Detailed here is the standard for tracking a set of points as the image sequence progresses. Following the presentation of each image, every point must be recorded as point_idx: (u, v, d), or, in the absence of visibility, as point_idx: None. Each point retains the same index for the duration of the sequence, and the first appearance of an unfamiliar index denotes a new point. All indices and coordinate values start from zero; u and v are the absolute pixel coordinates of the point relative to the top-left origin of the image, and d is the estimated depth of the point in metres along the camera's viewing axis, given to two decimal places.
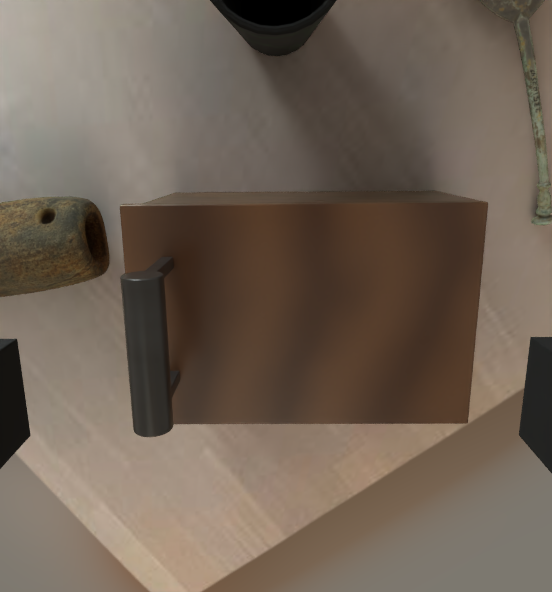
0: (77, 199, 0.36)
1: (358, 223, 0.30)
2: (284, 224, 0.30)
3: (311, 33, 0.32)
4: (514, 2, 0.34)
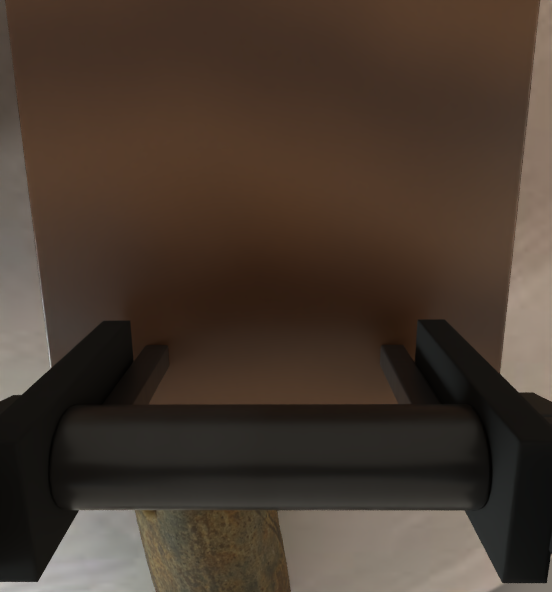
0: None
1: None
2: (61, 119, 0.14)
3: None
4: None
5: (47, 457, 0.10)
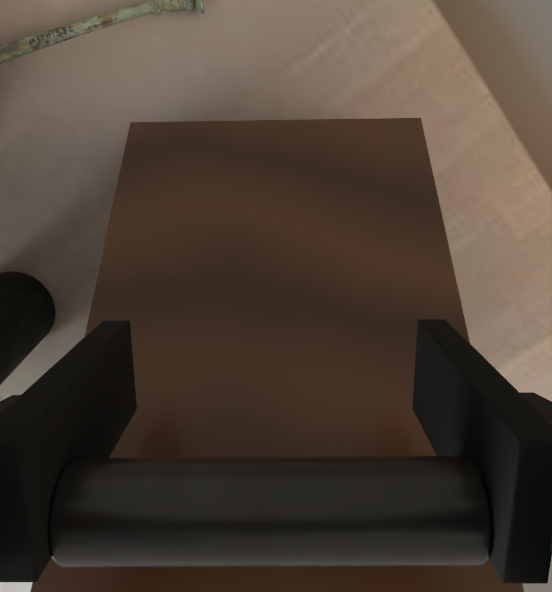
0: None
1: (131, 243, 0.21)
2: None
3: (9, 298, 0.32)
4: None
5: (46, 457, 0.10)
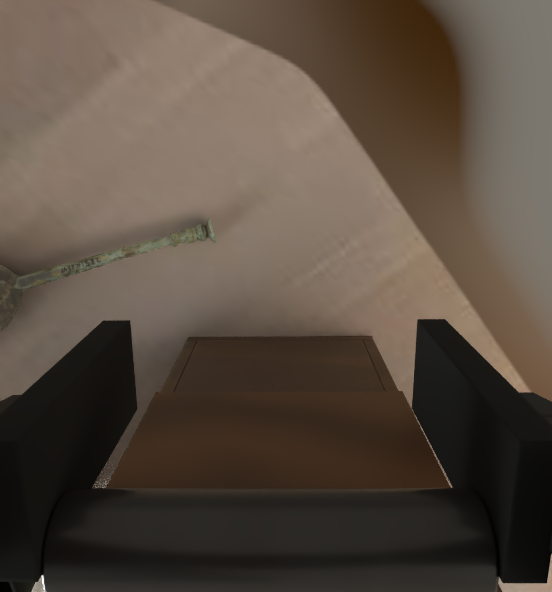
0: None
1: (142, 467, 0.22)
2: None
3: None
4: (3, 297, 0.36)
5: (47, 457, 0.10)
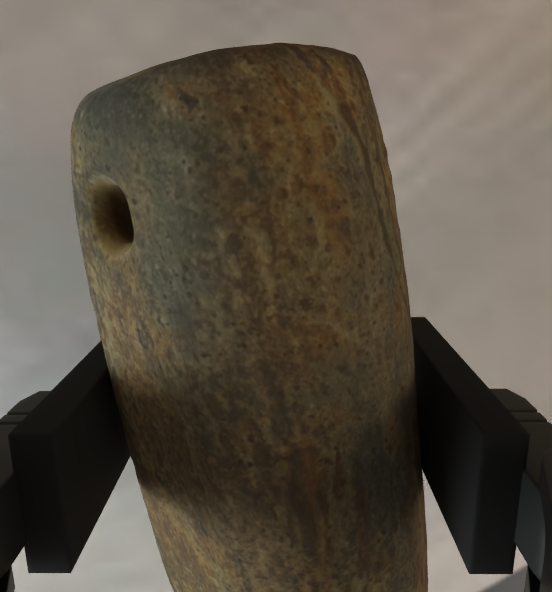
0: None
1: None
2: None
3: None
4: None
5: (78, 451, 0.10)
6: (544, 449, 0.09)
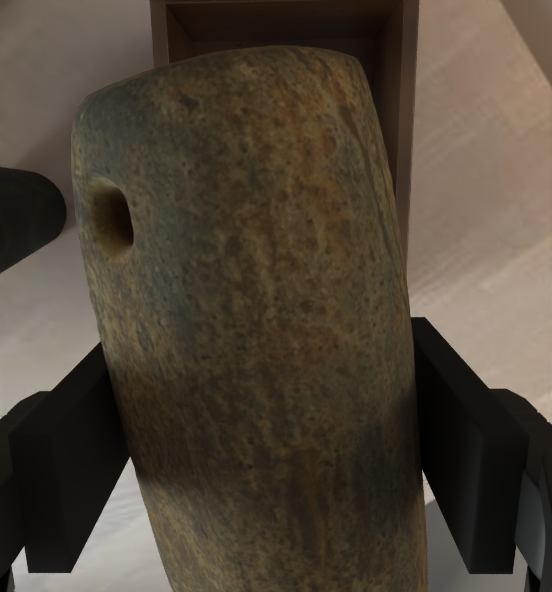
0: None
1: None
2: None
3: (23, 182, 0.33)
4: None
5: (78, 450, 0.10)
6: (543, 449, 0.09)
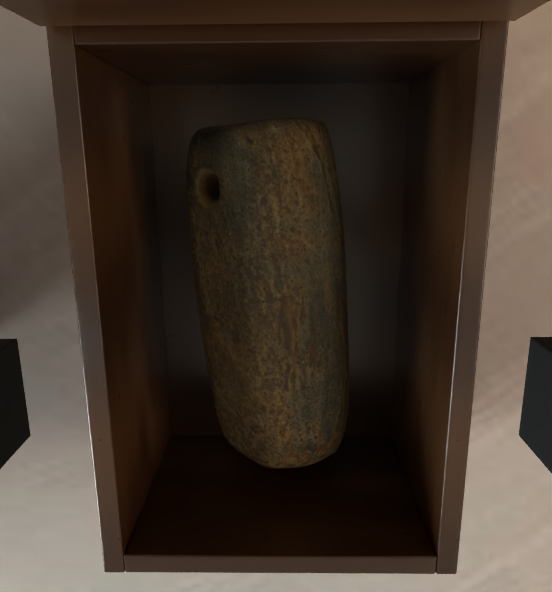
0: (190, 142, 0.21)
1: None
2: None
3: None
4: None
5: None
6: None
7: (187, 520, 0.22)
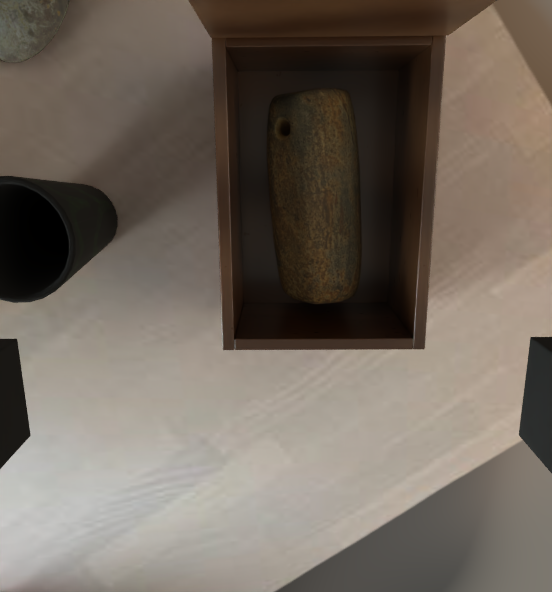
0: (270, 103, 0.36)
1: None
2: None
3: (87, 196, 0.38)
4: (51, 1, 0.37)
5: None
6: None
7: (266, 329, 0.37)
